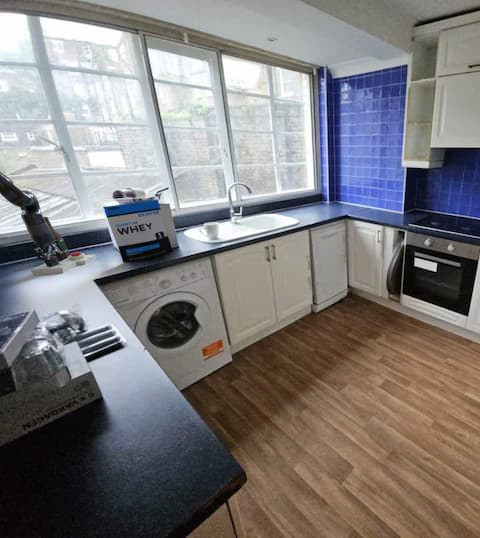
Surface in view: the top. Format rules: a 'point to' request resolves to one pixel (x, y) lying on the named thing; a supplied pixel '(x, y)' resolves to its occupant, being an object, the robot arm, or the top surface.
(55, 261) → the dial
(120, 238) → the protein powder
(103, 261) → the top surface
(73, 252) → the power button
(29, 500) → the top surface
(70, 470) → the top surface
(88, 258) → the switch block
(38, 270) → the control panel
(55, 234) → the beer bottle
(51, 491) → the top surface
